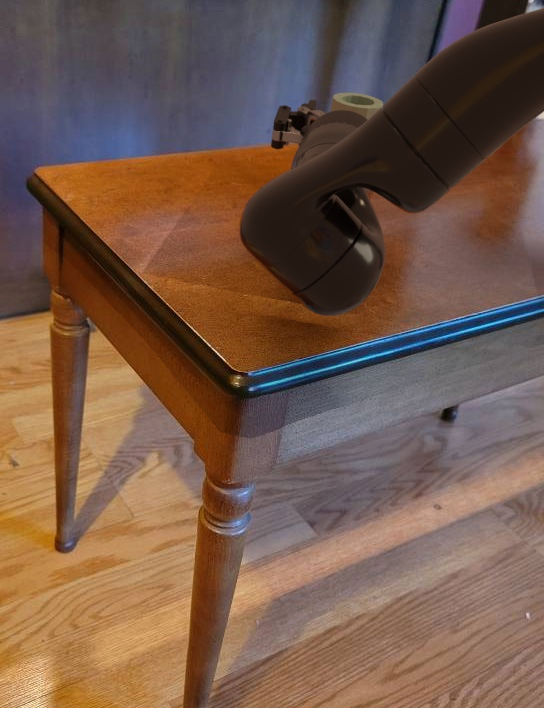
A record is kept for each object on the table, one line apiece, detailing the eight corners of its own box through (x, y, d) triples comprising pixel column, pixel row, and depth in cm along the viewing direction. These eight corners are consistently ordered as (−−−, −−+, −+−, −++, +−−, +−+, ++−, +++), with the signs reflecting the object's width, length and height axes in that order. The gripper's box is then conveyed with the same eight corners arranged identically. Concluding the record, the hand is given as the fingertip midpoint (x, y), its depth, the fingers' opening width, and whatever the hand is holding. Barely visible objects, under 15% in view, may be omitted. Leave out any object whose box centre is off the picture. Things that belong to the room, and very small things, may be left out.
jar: (366, 182, 100) (384, 97, 93) (363, 199, 95) (382, 111, 88) (321, 174, 100) (335, 89, 94) (315, 191, 96) (330, 102, 89)
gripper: (427, 137, 62) (428, 89, 75) (262, 110, 64) (290, 67, 76) (406, 221, 67) (410, 162, 79) (252, 194, 68) (280, 141, 81)
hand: (351, 116), depth 78 cm, fingers open, 8 cm apart
